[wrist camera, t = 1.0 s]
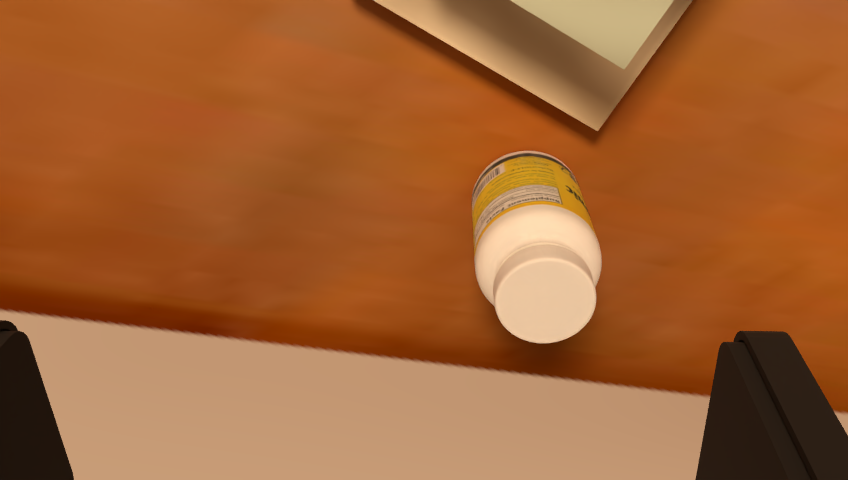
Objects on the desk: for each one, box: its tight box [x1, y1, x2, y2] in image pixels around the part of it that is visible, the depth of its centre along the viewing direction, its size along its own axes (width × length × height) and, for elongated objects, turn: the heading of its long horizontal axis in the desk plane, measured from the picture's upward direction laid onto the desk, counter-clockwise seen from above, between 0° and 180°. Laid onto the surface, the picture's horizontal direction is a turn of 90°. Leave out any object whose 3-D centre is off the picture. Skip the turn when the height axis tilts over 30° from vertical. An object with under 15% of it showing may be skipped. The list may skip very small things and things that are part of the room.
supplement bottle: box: [472, 151, 602, 343], centre depth 35 cm, size 5×5×10 cm
